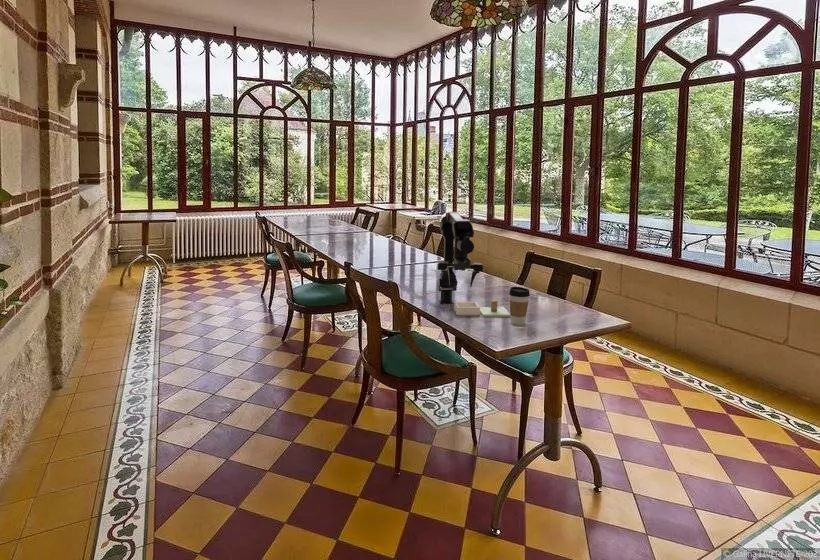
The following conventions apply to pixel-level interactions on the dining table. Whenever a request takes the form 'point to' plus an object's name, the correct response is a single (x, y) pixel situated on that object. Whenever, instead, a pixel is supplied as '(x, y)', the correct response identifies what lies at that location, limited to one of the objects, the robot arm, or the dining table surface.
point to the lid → (494, 310)
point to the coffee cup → (518, 304)
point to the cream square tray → (467, 308)
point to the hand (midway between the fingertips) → (459, 286)
